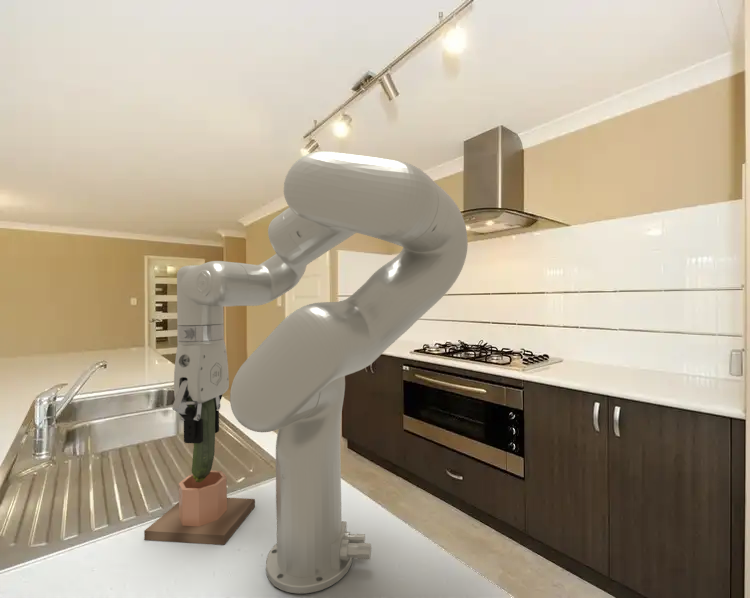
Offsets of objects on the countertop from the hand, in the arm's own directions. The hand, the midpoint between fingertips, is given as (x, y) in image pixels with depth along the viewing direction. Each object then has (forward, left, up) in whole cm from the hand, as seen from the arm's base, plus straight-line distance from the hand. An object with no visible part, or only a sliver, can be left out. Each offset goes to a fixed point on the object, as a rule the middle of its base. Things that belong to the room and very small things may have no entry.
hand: (202, 436), depth 65 cm
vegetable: (0, 0, -9) cm, 9 cm away
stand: (0, 0, -15) cm, 15 cm away
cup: (0, 0, -14) cm, 14 cm away
